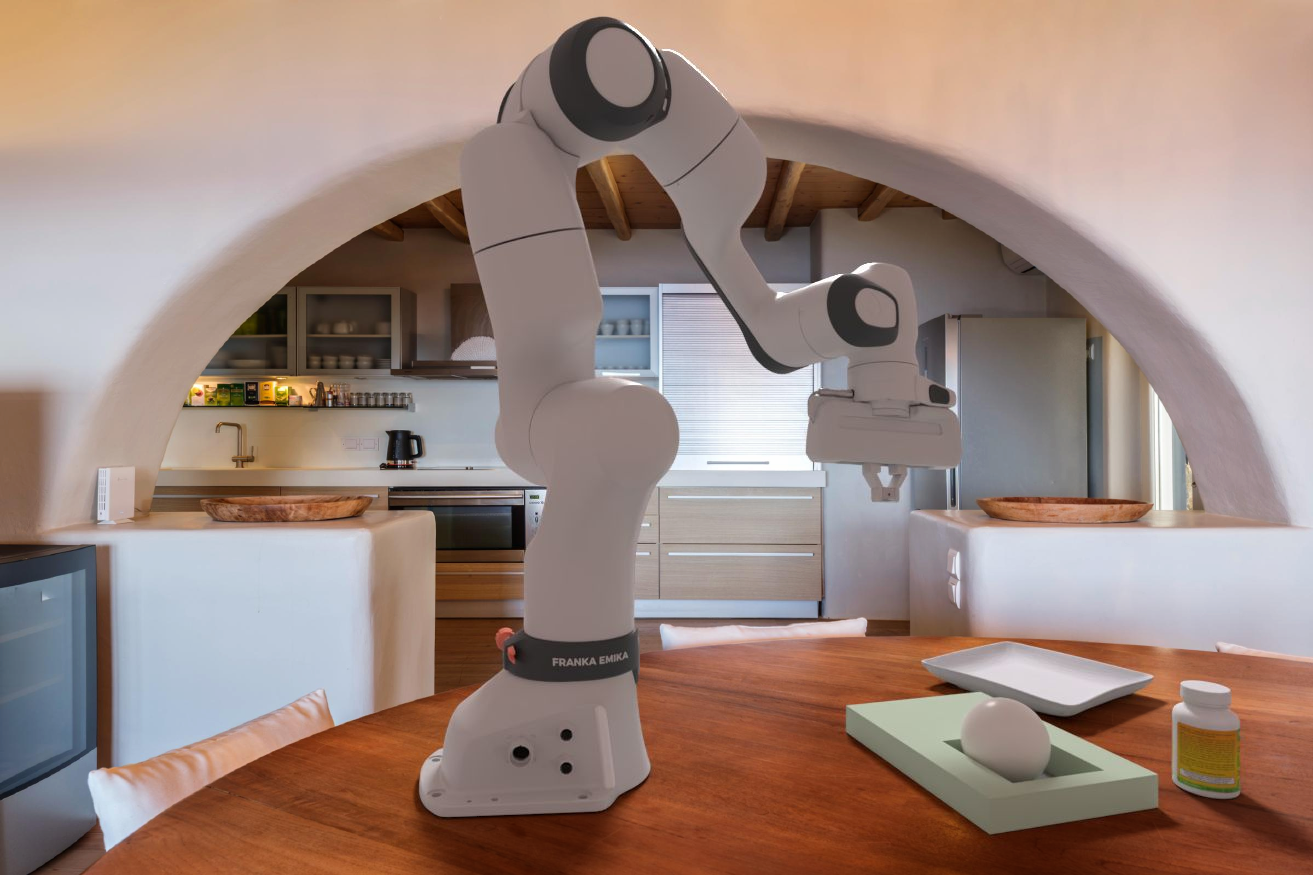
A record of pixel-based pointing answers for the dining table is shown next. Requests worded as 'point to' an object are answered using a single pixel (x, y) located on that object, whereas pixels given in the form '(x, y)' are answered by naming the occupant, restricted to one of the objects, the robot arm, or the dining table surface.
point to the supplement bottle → (1206, 741)
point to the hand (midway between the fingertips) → (885, 502)
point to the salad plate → (1037, 677)
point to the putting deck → (934, 758)
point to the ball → (1006, 739)
